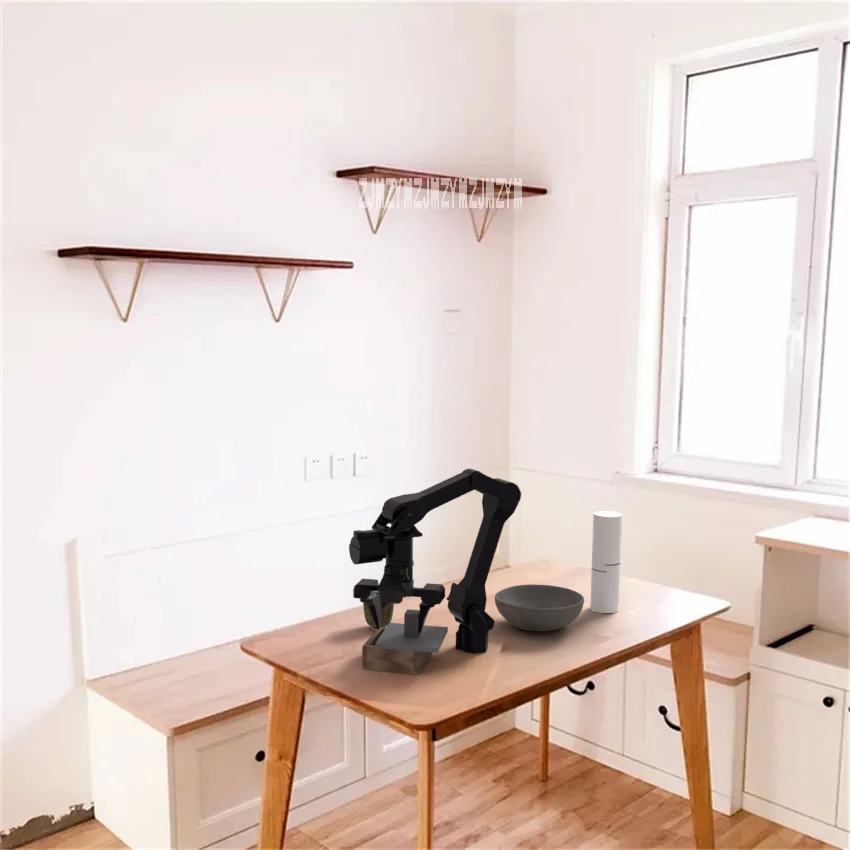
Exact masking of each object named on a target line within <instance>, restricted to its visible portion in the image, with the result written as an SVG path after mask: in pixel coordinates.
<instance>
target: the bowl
mask: <svg viewBox="0 0 850 850" xmlns="http://www.w3.org/2000/svg"><path fill="white" fill-rule="evenodd" d="M494 603H495V606H496V609H497V611H498V613H499V614H500V615H501V616H502V617H503V619H504V620H505V621H507V622H508V623H509V624H510V625H512V626H514V627H516V628H518V629H521V630H525V631H529V632H531V631H532V632H550V631H556V630H560V629H562V628H564V627H565V628H566V627H567V626H569V625H570V624H572V623H573V622H574V621H575V620H576V619H577V618H578V617H579V615H580V614H581V612H582V610H583V607H584V603H585V598H584V596H583V595H582V593H579V592H577V591H575V590H574V589H569V588H566V587H562V586H556V585H549V584H548V585H547V584H531V583H530V584H518V585H513V586H510V587H506V588H503V589H501V590H499V591H497V593H496V594H495V595H494Z"/></svg>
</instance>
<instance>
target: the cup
mask: <svg viewBox="0 0 850 850" xmlns="http://www.w3.org/2000/svg"><path fill="white" fill-rule="evenodd" d="M380 604H381V626H380V627H383V628H386V627H387V625H388V624H389V623H392V620H393V615H394V607H395V604H394V603H390V602H385V603H382V602H380ZM362 605H363V614H364V618H365V622H366V624H367V625H368V626H370V630H372V631H374V632H375V631H376V630H377V627H376V625H375V622H374V619H373V616H372V614H371V611H370V609H369V607H368V606H367V605H366V604H365V603H364V602H362Z"/></svg>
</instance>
